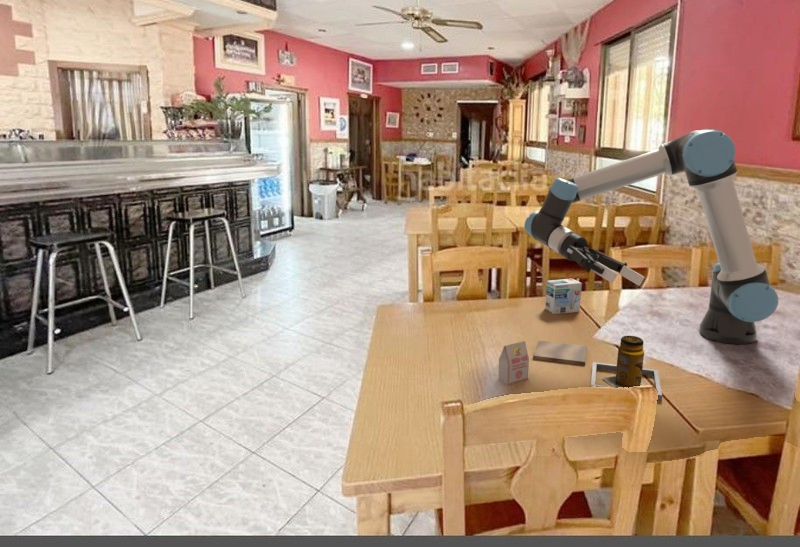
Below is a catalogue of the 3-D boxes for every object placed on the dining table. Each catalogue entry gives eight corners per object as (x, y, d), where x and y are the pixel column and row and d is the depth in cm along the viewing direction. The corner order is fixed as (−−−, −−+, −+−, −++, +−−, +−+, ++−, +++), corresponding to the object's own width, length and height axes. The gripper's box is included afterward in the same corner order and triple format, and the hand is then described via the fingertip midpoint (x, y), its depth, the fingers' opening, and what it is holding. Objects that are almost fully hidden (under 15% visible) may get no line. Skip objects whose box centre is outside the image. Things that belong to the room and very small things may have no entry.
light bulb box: (553, 314, 189) (555, 285, 187) (544, 308, 196) (545, 280, 193) (580, 311, 192) (582, 282, 189) (570, 306, 198) (572, 277, 196)
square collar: (657, 375, 141) (657, 369, 141) (661, 401, 128) (662, 395, 127) (592, 366, 147) (592, 361, 146) (590, 391, 133) (590, 385, 133)
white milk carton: (498, 379, 141) (499, 343, 138) (518, 374, 144) (520, 338, 141) (507, 385, 137) (508, 348, 135) (528, 379, 140) (529, 343, 138)
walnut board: (586, 349, 159) (587, 346, 158) (584, 365, 148) (585, 361, 148) (538, 343, 164) (538, 340, 163) (532, 358, 153) (533, 355, 153)
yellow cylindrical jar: (648, 387, 135) (653, 342, 132) (618, 391, 133) (622, 346, 130) (630, 375, 142) (634, 332, 139) (601, 378, 140) (605, 335, 137)
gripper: (586, 259, 165) (645, 294, 150) (535, 251, 149) (595, 290, 134) (598, 237, 162) (658, 270, 147) (547, 227, 147) (609, 263, 132)
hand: (628, 279), depth 141 cm, fingers open, 13 cm apart
